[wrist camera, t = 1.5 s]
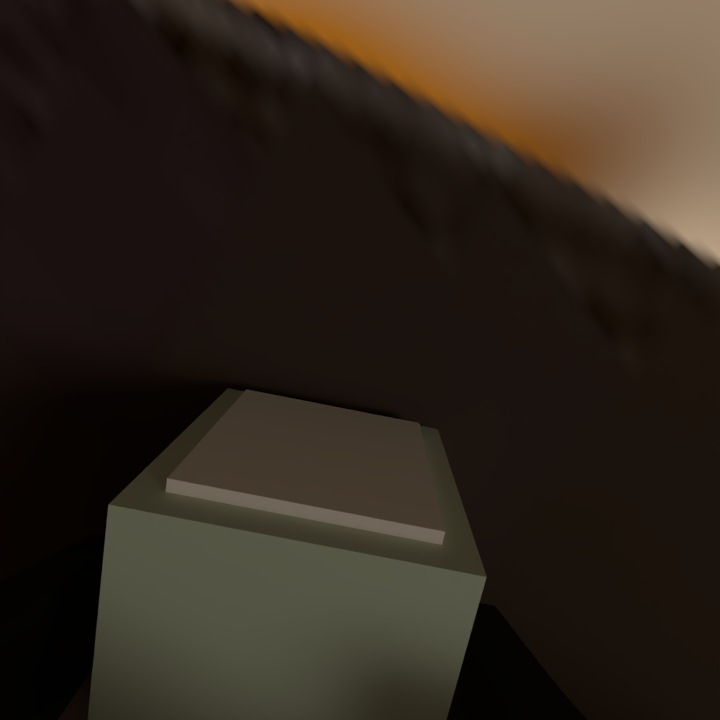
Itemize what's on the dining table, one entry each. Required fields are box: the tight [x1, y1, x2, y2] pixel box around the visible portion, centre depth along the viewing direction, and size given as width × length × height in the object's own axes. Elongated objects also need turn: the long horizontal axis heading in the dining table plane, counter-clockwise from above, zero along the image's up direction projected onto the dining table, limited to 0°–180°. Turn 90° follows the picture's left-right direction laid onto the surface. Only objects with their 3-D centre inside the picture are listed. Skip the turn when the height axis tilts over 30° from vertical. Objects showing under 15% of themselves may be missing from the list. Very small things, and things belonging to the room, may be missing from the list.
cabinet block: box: [88, 388, 486, 720], centre depth 10 cm, size 5×8×6 cm, turn 169°
